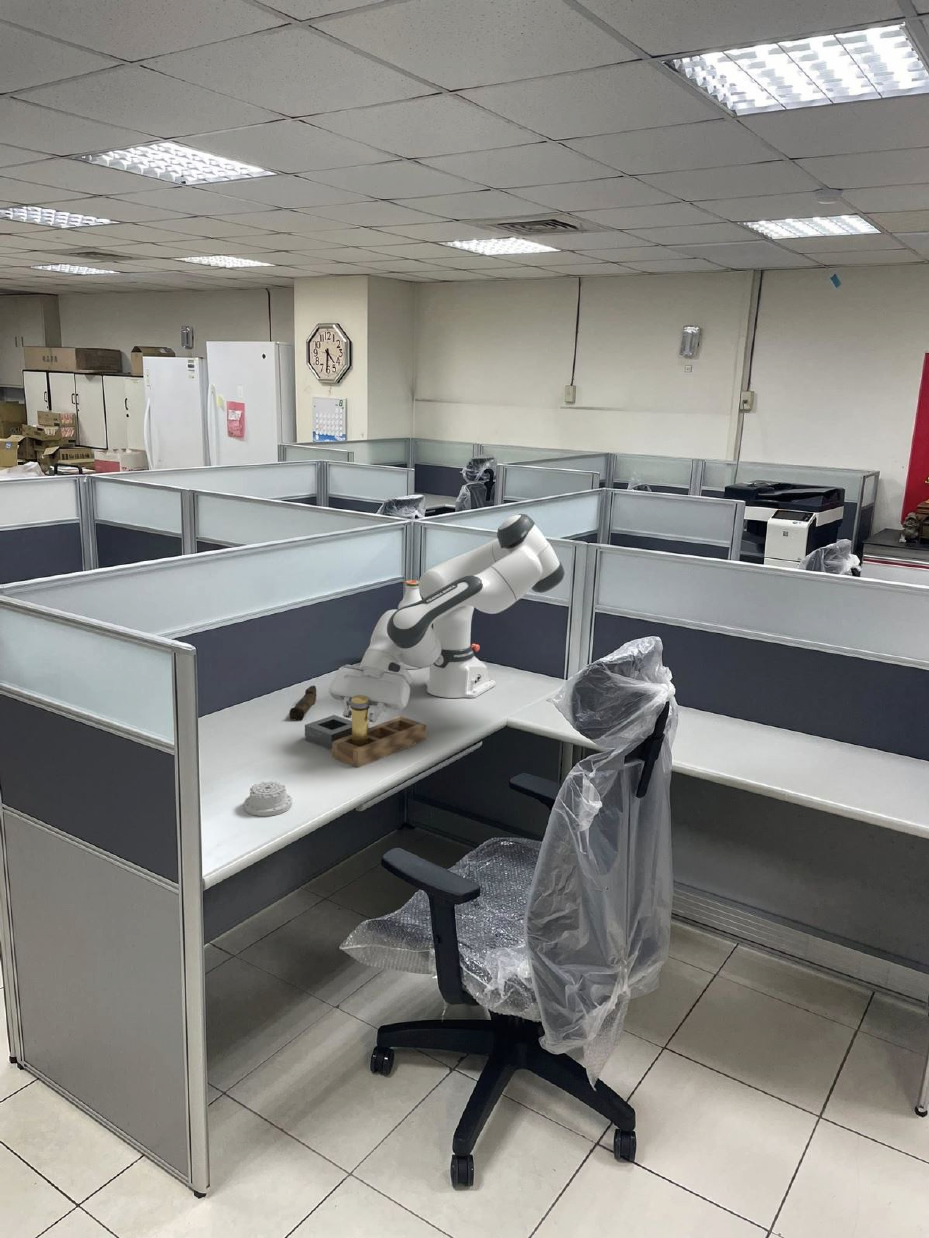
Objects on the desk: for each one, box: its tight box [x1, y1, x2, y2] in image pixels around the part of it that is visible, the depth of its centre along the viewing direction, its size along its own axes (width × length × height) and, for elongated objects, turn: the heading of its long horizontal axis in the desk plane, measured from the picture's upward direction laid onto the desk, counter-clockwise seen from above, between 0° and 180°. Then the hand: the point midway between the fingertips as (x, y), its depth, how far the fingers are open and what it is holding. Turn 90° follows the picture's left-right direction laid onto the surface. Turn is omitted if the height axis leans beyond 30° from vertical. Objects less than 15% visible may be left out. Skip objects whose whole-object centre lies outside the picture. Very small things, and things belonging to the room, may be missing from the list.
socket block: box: [304, 714, 352, 750], centre depth 226 cm, size 10×10×4 cm
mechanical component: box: [243, 780, 293, 817], centre depth 189 cm, size 10×4×10 cm
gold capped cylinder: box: [349, 695, 371, 747], centre depth 214 cm, size 5×5×15 cm
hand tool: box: [289, 685, 318, 721], centre depth 248 cm, size 19×4×5 cm, turn 172°
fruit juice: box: [397, 579, 423, 670], centre depth 287 cm, size 9×9×28 cm
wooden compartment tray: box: [331, 716, 427, 768], centre depth 221 cm, size 24×9×4 cm, turn 141°
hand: (358, 718), depth 213 cm, fingers open, 5 cm apart
